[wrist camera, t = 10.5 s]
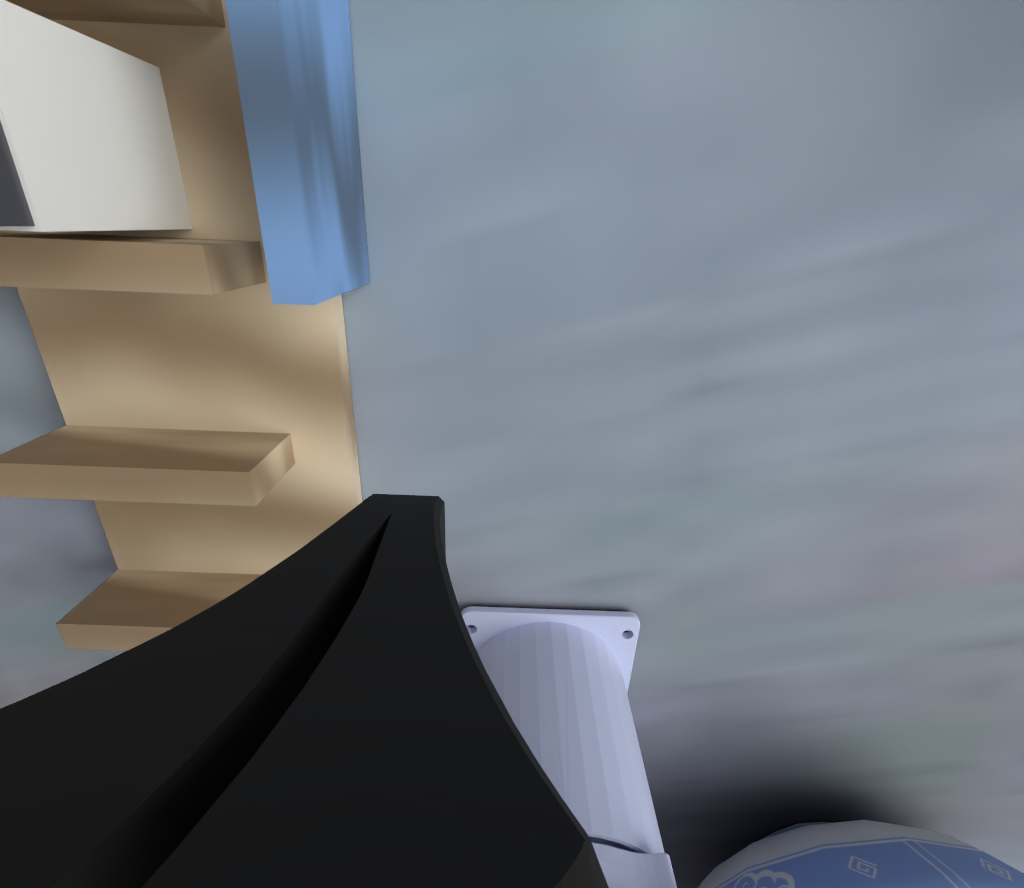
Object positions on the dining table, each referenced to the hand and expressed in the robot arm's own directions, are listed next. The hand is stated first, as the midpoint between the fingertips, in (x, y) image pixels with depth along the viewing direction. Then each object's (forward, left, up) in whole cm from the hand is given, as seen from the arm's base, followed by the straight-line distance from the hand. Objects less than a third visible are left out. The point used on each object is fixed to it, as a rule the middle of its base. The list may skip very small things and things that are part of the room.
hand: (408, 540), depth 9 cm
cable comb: (+1, +8, -9) cm, 13 cm away
